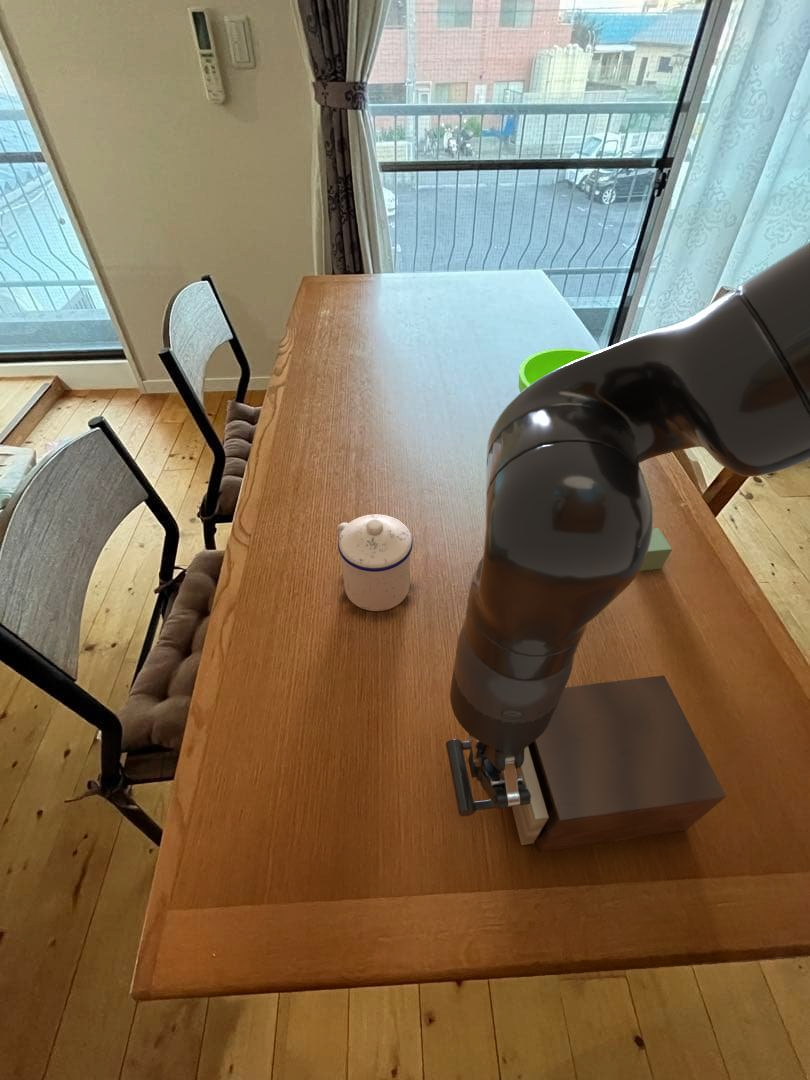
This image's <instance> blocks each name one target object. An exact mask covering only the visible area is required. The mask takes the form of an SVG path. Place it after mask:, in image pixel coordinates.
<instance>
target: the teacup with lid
mask: <svg viewBox="0 0 810 1080" xmlns="http://www.w3.org/2000/svg"><path fill="white" fill-rule="evenodd" d="M336 535H337V537H338V540H337V548H338V551H339V554H340V558H341V568H342V577H343V585H344V592H345V595H346V596H347V598H348V600H349V601H350V602H351V603H352V604H353V605H355V606H356V607H358V608H360V609H362V610H365V611H370V612H383V611H387V610H391V609H393V608H395V607H397V606H398V605H400V604H401V603H402V602H403V601H404V600H405V599H406V597H407V596H408V594H409V591H410V586H411V553H412V551H413V547H414V546H413V545H414V542H413V541H414V540H413V536H412V534H411V531H410V530H409V528H408V527H407V526H406V525H405V524H404V523H403V522H402V521H401V520H399V519H397V518H395V517H393V516H390V515H386V514H377V513H375V514H373V513H372V514H366V515H363V516H359V517H357V518H355V519H353V520H351V521H350V522H349V523H348V522H346V521H344V522H342V523H340V524H338V525H337V527H336Z"/></svg>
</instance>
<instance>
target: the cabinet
mask: <svg viewBox="0 0 810 1080" xmlns="http://www.w3.org/2000/svg"><path fill="white" fill-rule="evenodd" d="M533 743H534V746H535V750H536V753H537V756H538V760H539V763H540V766H541V769H542V773H543V776H544V779H545V783H546V786H547V789H548V793H549V796H550V799H551V803H552V806H553V809H554V813H555V815H554V816H553V818H552V820H551V821H550V823H549V825H548V826H547V828H546V829H545V828H544V826H543V828H542V830H541V831H540V833H539V835H538V836H537V838H536V840H535V842H536V846H537V849H538V853H544V852H551V851H552V852H553V851H560V850H566V849H572V848H579V847H586V846H592V845H599V844H606V843H612V842H621V841H625V840H626V841H627V840H632V839H641V838H646V837H653V836H658V835H659V836H660V835H666V834H673V833H680V832H686V831H688V830H689V829H690V828H691V827H692V826H693V825H695V824H696V823H697V822H698V821H699V820H701V819H702V818H704V816H705V815H706V814H708V813H710V811H711V810H712V809H714V808H715V807H716V806H718V805H719V804H720V803H721V802H722V801H723V800H725V798H727V795H726V793H725V791H724V789H723V787H722V785H721V783H720V782H719V781H720V780H719V779H718V777H717V775H716V773H715V771H714V769H713V768H712V765H711V764H710V762H709V760H708V758H707V755H706V754H705V752H704V750H703V747H702V746H701V744H700V742H699V740H698V738H697V737H696V735H695V733H694V731H693V729H692V727H691V724H690V722H689V720H688V718H687V717H686V714H685V713H684V711H683V709H682V707H681V705H680V703H679V702H678V699H677V697H676V695H675V693H674V691H673V690H672V687H671V685H670V684H669V682H668V680H667V678H666V676H665V675H664V674H663V675H657V676H656V675H655V676H646V677H639V678H630V679H623V680H622V679H621V680H612V681H606V682H604V681H603V682H597V683H589V684H588V683H587V684H580V685H579V684H578V685H571V686H565V688H564V691H563V693H562V695H561V698H560V700H559V702H558V704H557V706H556V709H555V711H554V713H553V716H552V718H551V720H550V722H549V724H548V726H547V728H546V730H545V731H544V732H543V733H542V734H541V735H540V736H539V737H538V738H537V739H536V740H535V741H533Z"/></svg>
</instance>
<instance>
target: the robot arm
mask: <svg viewBox="0 0 810 1080" xmlns="http://www.w3.org/2000/svg"><path fill="white" fill-rule="evenodd" d="M594 352H595V353H593V354H590V355H588V356H585V357H583V358H580V359H578V360H576V361H573V362H571V363H569V364H566V365H564V366H562V367H560V368H558V369H556V370H554V371H552V372H550V373H548V374H547V375H545V376H543V377H542V378H540V379H538V380H537V381H535V382H534V383H532V384H531V385H530V386H528V387H527V388H526V389H524V390H523V391H522V392H521V393H519V394H518V395H516V396H515V397H514V398H513V399H512V400H511V401H510V402H509V403H508V404H507V405H506V406H505V407H504V408H503V410H502V411H501V413H499V415H498V417H497V418H496V420H495V422H494V423H493V425H492V427H491V429H490V432H489V436H488V439H487V445H486V477H485V479H486V481H485V483H486V492H485V495H486V496H485V497H486V498H485V499H486V500H485V523H484V524H485V525H484V541H483V554H482V556H481V558H480V560H479V561H478V562H477V565H476V568H475V569H474V572H473V575H472V577H471V581H470V586H469V591H468V598H467V604H466V611H465V617H464V621H463V623H462V626H461V629H460V631H459V635H458V639H457V643H456V648H455V649H456V650H455V655H454V664H453V670H452V677H451V683H450V689H449V690H450V691H449V698H450V704H451V709H452V713H453V714H454V716H455V719H456V721H457V722H458V724H459V725H460V726H461V727H462V728H463V730H464V731H465V732H467V734H468V741H469V743H470V744H471V749H469V750H470V751H469V754H468V759H467V762H468V767H469V771H470V772H469V773H470V776H471V778H476V781H478V782H479V783H480V785H481V787H482V788H483V790H484V792H485V793H486V794H487V796H488V798H489V800H492V802H493V803H494V805H495V806H496V808H495V809H503V808H512V806H519V805H526V804H530V801H531V800H530V798H531V794H530V791H529V790H528V788H527V786H526V785H525V784H524V783H523V777H522V776H517V771H516V769H518V768H520V767H521V766H522V765H523V762H524V750H525V748H526V747H527V746H528V745H530V744H531V743H532V742H533V741H535V740H536V739H537V738H538V737H539V736H540V735H541V734H542V733H543V732H544V731H545V730H546V728H547V726H548V724H549V722H550V720H551V718H552V716H553V713H554V711H555V709H556V706H557V704H558V702H559V700H560V698H561V695H562V693H563V691H564V688H565V687H567V684H568V682H569V679H570V676H571V674H572V670H573V667H574V661H575V655H576V653H577V650H578V648H579V646H580V644H581V641H582V639H583V637H584V634H585V632H586V630H587V627H588V624H589V623H590V622H591V621H593V620H594V619H595V618H597V617H598V616H599V615H600V614H601V613H602V612H603V611H605V609H606V608H607V607H608V606H609V605H610V604H611V603H612V602H613V601H615V599H617V598H618V596H620V595H621V594H622V593H623V592H624V591H625V590H626V589H627V588H628V587H629V586H630V585H631V583H633V581H634V580H635V578H636V577H637V576H638V574H639V573H640V572H641V571H640V569H641V567H642V565H643V563H644V560H645V558H646V555H647V552H648V549H649V545H650V541H651V537H652V530H653V529H654V507H653V502H652V500H651V499H652V498H651V495H650V492H649V488H648V484H647V481H646V477H645V473H644V470H643V467H642V465H641V463H643V462H645V461H647V460H650V459H652V458H657V457H660V456H663V455H667V454H670V453H676V452H679V451H683V450H687V449H692V448H699V447H700V448H703V449H704V450H706V452H707V453H709V455H710V456H711V457H712V458H713V459H714V460H715V461H716V462H717V463H719V465H721V466H722V467H724V468H725V469H726V470H727V471H729V472H731V473H734V474H735V475H739V476H742V477H750V478H751V477H753V478H754V477H762V476H767V475H769V474H774V473H777V472H779V471H782V470H786V469H788V468H791V467H793V466H796V465H798V464H801V463H803V462H806V461H808V460H810V240H809V241H807V242H806V243H804V244H802V246H800V247H798V248H797V249H795V250H793V251H792V252H790V253H788V254H787V255H785V256H783V257H782V258H780V259H779V260H777V261H775V262H774V263H772V264H771V265H770V266H768V267H765V268H764V269H763V270H761V271H760V272H758V273H757V274H755V275H753V276H752V277H750V278H748V279H747V280H746V281H744V282H742V283H740V284H739V285H738V286H736V289H735V290H733V289H731V290H729V291H728V292H727V293H725V294H723V295H722V296H720V297H719V298H717V299H716V300H714V301H713V302H711V303H710V304H709V305H707V306H706V307H705V308H703V309H701V310H700V311H698V312H696V313H694V314H692V315H691V316H688V317H687V318H684V319H681V320H678V321H676V322H673V323H670V324H667V325H664V326H661V327H658V328H655V329H652V330H651V329H650V330H649V331H646V332H643V333H640V334H637V335H635V336H632V337H630V338H628V339H625V340H623V341H621V342H618V343H615V344H612V345H611V346H608V347H605V348H603V349H600V350H598V351H594Z"/></svg>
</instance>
